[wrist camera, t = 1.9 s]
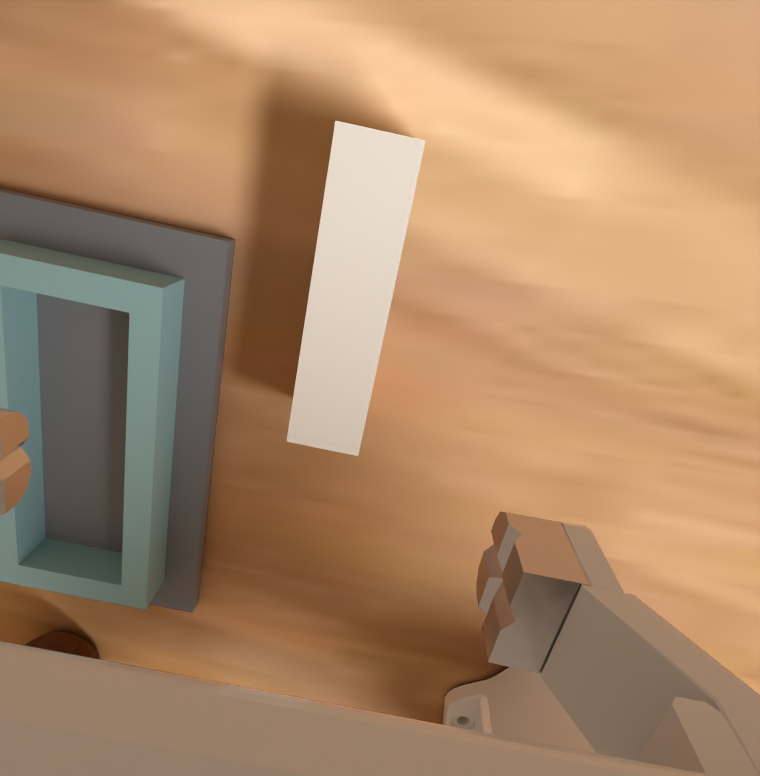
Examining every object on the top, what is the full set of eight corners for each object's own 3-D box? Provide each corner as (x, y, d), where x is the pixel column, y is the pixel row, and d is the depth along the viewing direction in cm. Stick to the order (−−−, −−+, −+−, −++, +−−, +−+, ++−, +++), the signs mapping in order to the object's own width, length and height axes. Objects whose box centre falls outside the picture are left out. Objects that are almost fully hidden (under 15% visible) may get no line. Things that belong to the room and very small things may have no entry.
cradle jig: (198, 601, 35) (177, 644, 32) (4, 562, 35) (-37, 602, 32) (235, 239, 27) (210, 248, 23) (-25, 182, 26) (-86, 183, 23)
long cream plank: (366, 413, 30) (358, 456, 25) (305, 400, 30) (286, 441, 25) (422, 147, 25) (425, 140, 20) (349, 131, 25) (335, 120, 20)
